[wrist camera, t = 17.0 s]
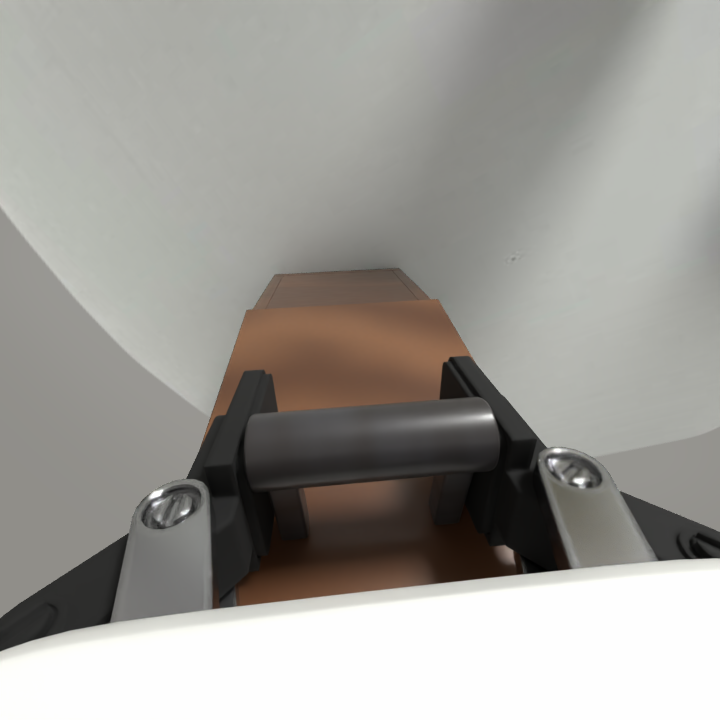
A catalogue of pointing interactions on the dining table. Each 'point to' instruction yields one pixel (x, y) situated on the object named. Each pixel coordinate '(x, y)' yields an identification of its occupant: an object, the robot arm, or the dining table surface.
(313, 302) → the chest
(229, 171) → the dining table surface
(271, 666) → the robot arm
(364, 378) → the lid
